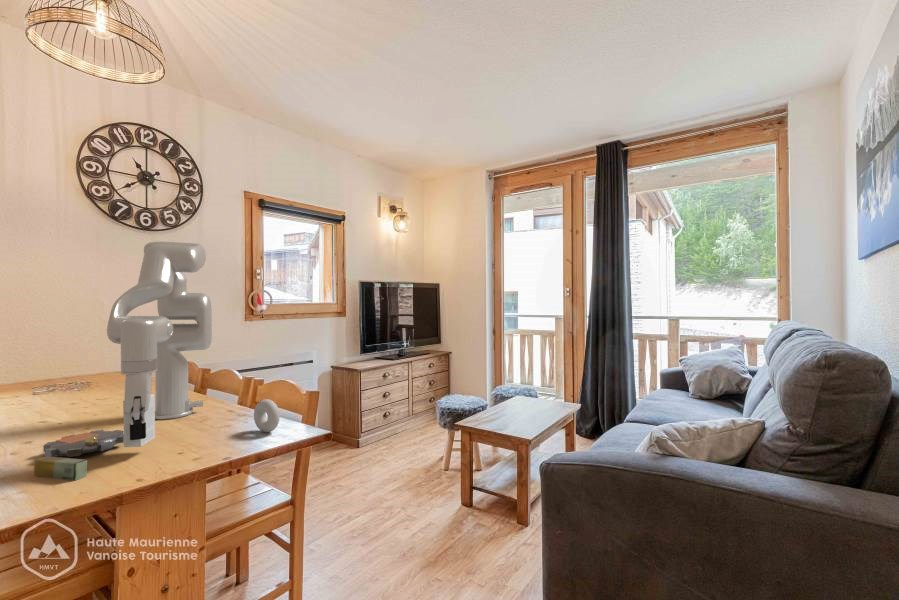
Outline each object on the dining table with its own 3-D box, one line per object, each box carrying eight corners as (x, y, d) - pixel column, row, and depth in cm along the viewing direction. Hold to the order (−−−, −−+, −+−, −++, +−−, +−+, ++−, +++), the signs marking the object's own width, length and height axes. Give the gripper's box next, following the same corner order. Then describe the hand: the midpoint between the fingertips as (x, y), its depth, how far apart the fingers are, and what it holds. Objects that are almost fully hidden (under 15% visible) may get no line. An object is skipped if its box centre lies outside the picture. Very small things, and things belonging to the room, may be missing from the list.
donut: (282, 433, 125) (282, 400, 125) (272, 436, 122) (272, 402, 122) (261, 427, 130) (261, 396, 130) (251, 430, 127) (251, 398, 127)
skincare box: (138, 438, 110) (138, 394, 110) (155, 438, 111) (155, 394, 110) (122, 447, 104) (122, 400, 104) (140, 447, 104) (140, 400, 104)
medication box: (88, 476, 94) (88, 459, 94) (75, 481, 92) (75, 463, 92) (46, 472, 96) (46, 455, 97) (32, 477, 94) (33, 459, 94)
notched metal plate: (101, 432, 120) (101, 420, 120) (139, 439, 114) (140, 426, 114) (28, 452, 105) (28, 437, 105) (68, 461, 99) (68, 446, 99)
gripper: (125, 362, 112) (125, 426, 113) (115, 374, 97) (116, 448, 98) (159, 360, 116) (159, 422, 117) (154, 371, 101) (154, 442, 102)
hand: (139, 433), depth 107 cm, fingers closed on skincare box, 7 cm apart
